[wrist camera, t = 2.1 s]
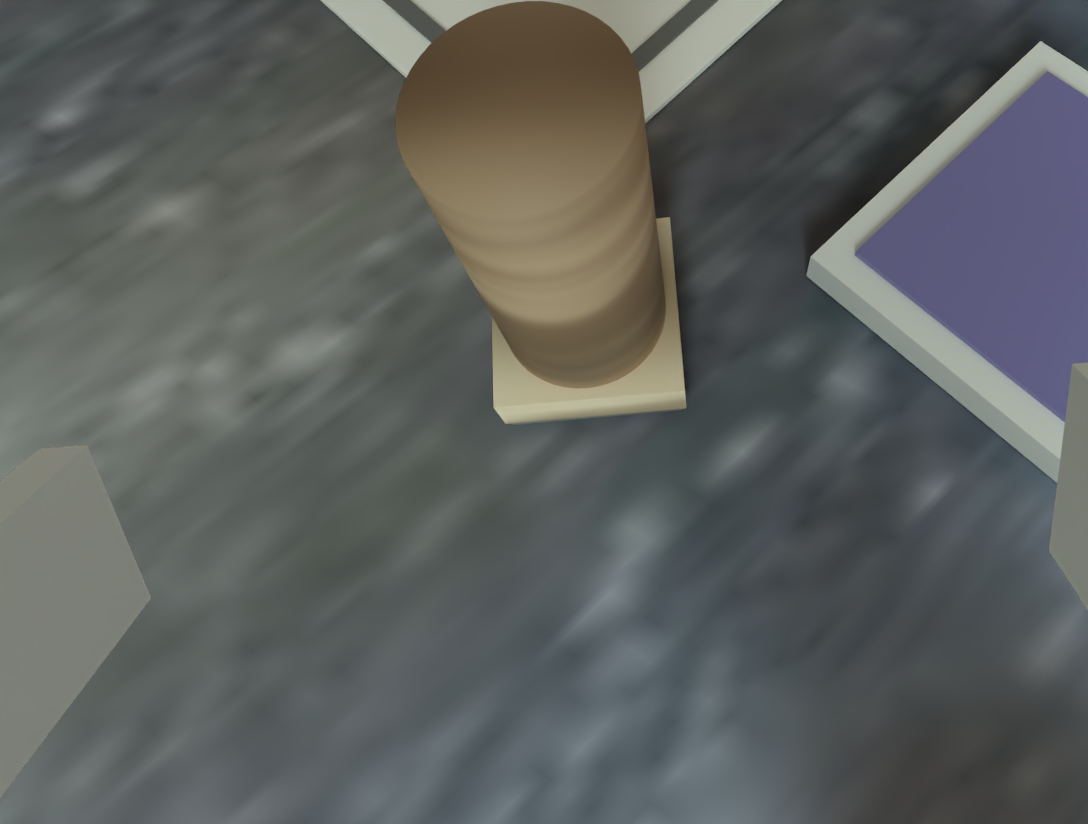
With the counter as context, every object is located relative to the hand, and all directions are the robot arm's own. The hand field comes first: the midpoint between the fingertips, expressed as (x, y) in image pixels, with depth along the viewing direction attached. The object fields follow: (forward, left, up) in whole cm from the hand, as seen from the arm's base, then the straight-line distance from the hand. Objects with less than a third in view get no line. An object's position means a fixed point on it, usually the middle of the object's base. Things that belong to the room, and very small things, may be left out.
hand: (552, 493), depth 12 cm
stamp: (-6, +4, -12) cm, 14 cm away
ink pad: (+3, +14, -12) cm, 19 cm away
